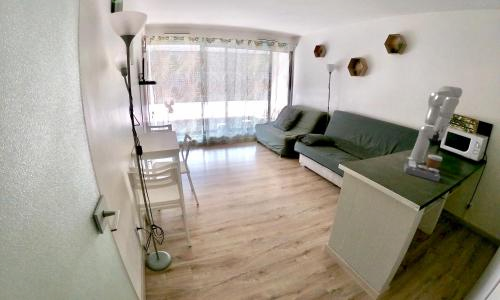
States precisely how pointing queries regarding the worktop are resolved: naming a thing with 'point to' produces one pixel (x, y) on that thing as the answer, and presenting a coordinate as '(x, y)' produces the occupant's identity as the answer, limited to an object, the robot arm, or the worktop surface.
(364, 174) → the worktop surface
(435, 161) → the disposable coffee cup
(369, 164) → the worktop surface
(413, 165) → the block
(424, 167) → the block
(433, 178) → the rocker switch panel
